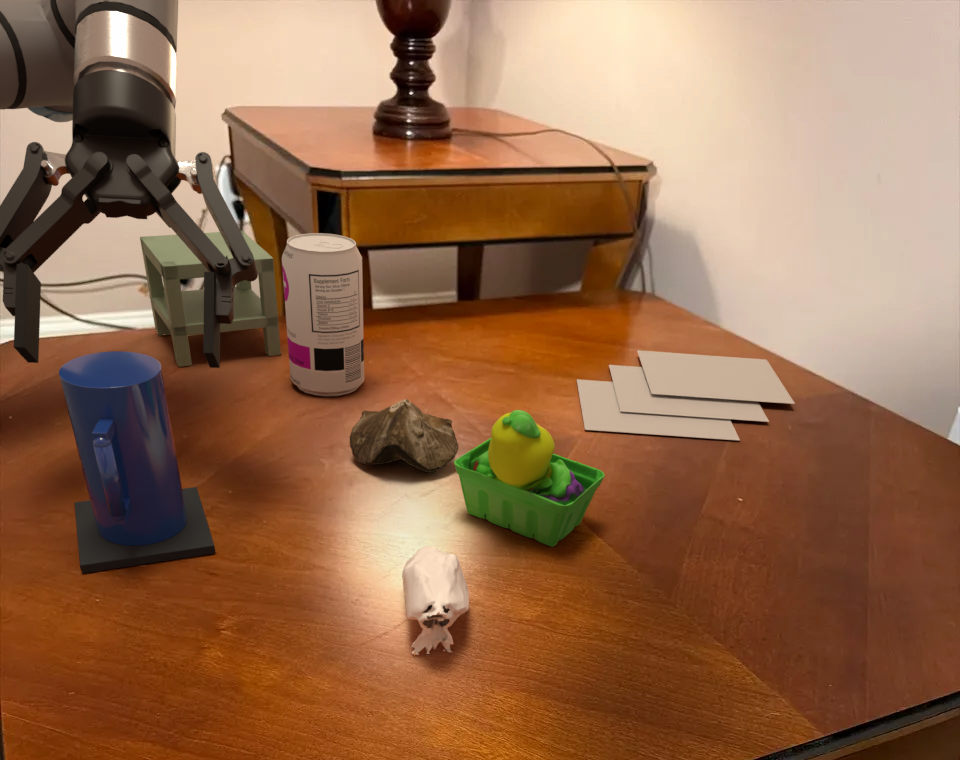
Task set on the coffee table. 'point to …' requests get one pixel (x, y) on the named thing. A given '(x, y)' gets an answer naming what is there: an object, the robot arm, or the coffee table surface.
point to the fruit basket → (526, 481)
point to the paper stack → (681, 395)
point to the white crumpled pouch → (434, 595)
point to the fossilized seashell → (404, 437)
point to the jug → (125, 445)
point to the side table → (186, 308)
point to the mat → (111, 555)
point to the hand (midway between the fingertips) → (120, 358)
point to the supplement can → (324, 313)
